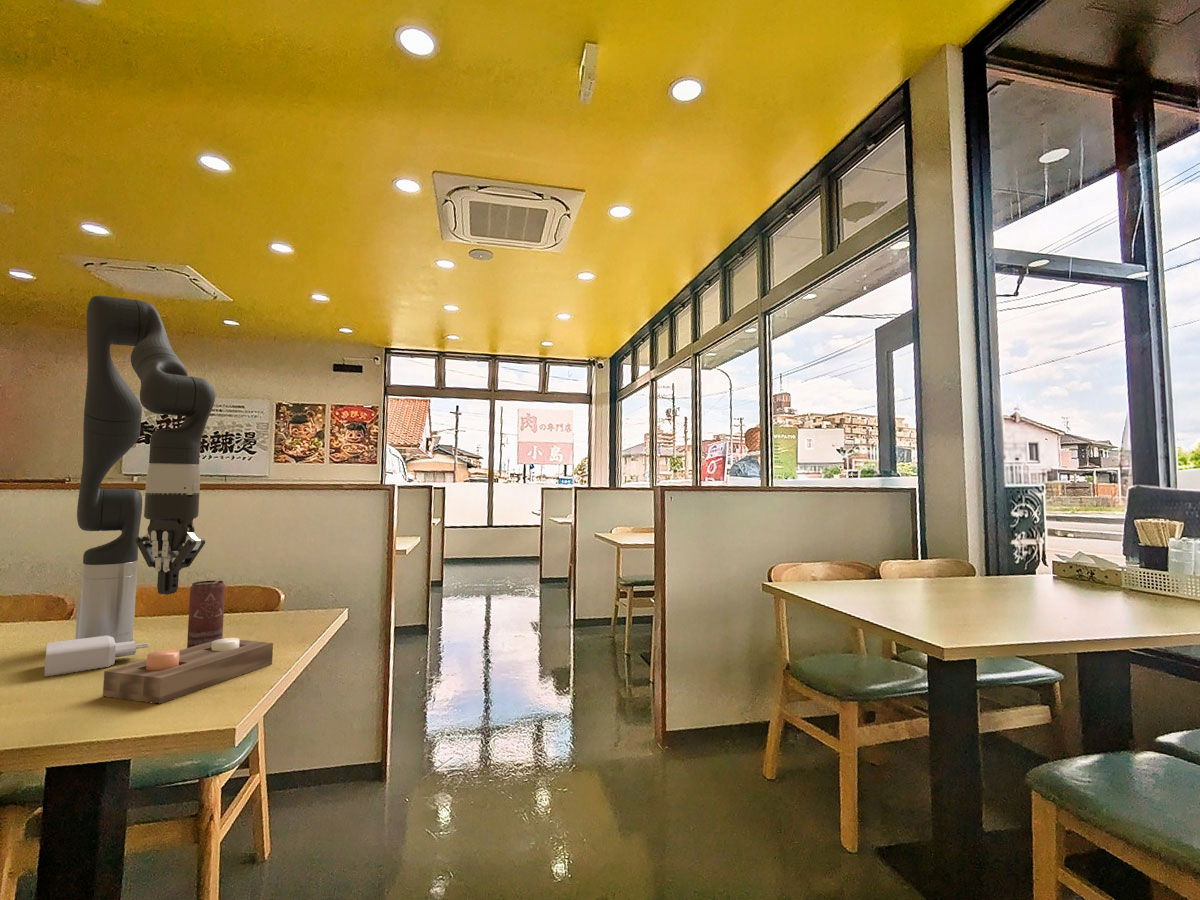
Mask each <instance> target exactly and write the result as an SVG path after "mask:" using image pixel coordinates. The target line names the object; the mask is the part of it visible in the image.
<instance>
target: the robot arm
mask: <svg viewBox="0 0 1200 900" xmlns="http://www.w3.org/2000/svg"><path fill="white" fill-rule="evenodd" d="M86 308H87V309H86V316H85V317H86V320H85V321H86V353H87V355H86V356H87V360H86V361H87V375H86V376H87V377H86V389H85V390H86V391H85V398H84V410H83V427H82V428H83V433H82V435H83V436H82V437H83V439H82V440H83V441H82V442H83V444H82V445H83V446H82V447H83V448H82V450H83V451H82V452H83V453H82V455H83V457H82V466H81V467H82V468H81V477H80V484H79V490H78V491H79V492H78V498H77V499H78V500H77V507H76V521H77V524H78V527H79V529H81V530H82V531H85V532H111V531H112V532H114V531H120V532H121V534H119V536H118V537H117V538H115V539H113V540H112V541H108V542H107V543H104V544H101V545H98V546H95V547H90V548H88V549H87V550H85V551H84V552H83V555H82V571H81V572H82V573H81V588H80V589H81V592H80V598H78V600H77V606H76V607H77V609H76V621H75V622H76V624H75V625H76V626H75V639H83V638H91V637H99V636H111V637H114V640H115V643H121V642H128V641H133V639H134V629H135V627H134V626H135V613H136V611H135V609H136V599H137V597H136V595H137V581H138V580H137V579H138V559H139V558H138V557H139V551H140V553H141V555H142V557H143V559H144V561H145V563H146V565H147V566H148V567H149V568H153V569H155V571H156V572H157V583H156V584H157V586H156V587H157V593H158V594H159V595H171V594H176V592H177V591H178V589H179V588H178V587H179V576H180V571H181V570H182V569H184V568H189V567H190V566H191V564H192V563H193V562H194V560H195V559H196V558H197V556H198V554H199V553H200V552H201V550H202V549H203V547H204V546H205V544H206V540H205V539H204V538H199V537H197V536H196V534H195V530H196V529H195V526H194V519H196V518H198V516H199V511H200V510H199V508H200V488H201V473H200V457H201V455H200V454H201V442H202V439H203V435H204V431H205V429H206V426H207V423H208V420H209V418H210V415H211V412H212V410H213V408H214V405H215V401H216V392H215V389H214V386H213V385H212V383H210V382H209V381H208V380H207V379H205V378H203V377H202V378H201V377H195V376H188V370H187V368H186V366H185V365H184V364H183V362H182V361H181V360H180V358H179V357H178V356H177V354H176V353H175V352H174V349H173V348H172V346H171V343H170V340H169V337H168V334H167V331H166V327H165V325H164V322H163V320H162V318H161V315H160V313H159V311H158V310H157V308H156V307H155V306H154V305H153V304H152V303H150V302H147V301H143V300H137V299H131V298H125V297H124V298H123V297H115V296H107V295H94V296H92V297H91V298H90V299H89V301H88V303H87V307H86ZM111 345H114V346H115V345H116V346H127V347H129V346H130V347H134V348H133V349H132V351H131V354H130V363H131V364H130V365H131V367H132V368H133V371H134V373H135V374H136V376H137V377H138V379H139V381H140V388H139V389H140V390H139V399H138V397H137V396H136V394H135V392H134V390H132V388H130V385H128V384H127V382H126V381H125V380H124V378H123V377H122V376H121V373H119V371H118V369H117V367H116V366H115V364H114V362H113V359H112V356H111ZM142 407H143V408H144V409H145V410H147V411H148V412H151V413H153V414H156V415H157V414H158V415H166V416H176V417H177V416H178V417H185V418H184V421H183V423H182V424H181V425H180V426H178V427H173V428H161V429H157V430H155V431H153V432H152V433H151V435H150V439H149V441H150V442H149V455H148V456H149V458H148V469H147V473H146V476H145V478H146V479H145V491H144V508H143V496H142V492H141V491H140V490H139V489H137V488H101V487H100V486H101V484H102V482H103V480H104V479H105V477H106V475H107V474H108V472H110V470H111V469H112V468H113V467H114V465H115V464H116V463H117V462H118V461H120V459H122V458H123V456H125V455H126V454H127V453H128V452H129V451H130V450H131V449H132V448H133V446H134V445H135V444H136V443H137V441H139V440H138V439H139V438H140V435H141V427H142V426H141V425H142V416H143V413H142V412H143V409H142ZM143 510H144V511H143ZM142 511H143V512H142ZM142 513H143V517H144V518H145V519H146V520H149V524H148V526H147V530H146V531H147V532H146V533H145V534H144V535H143V536H140V528H141V519H142ZM75 639H74V640H75Z"/></svg>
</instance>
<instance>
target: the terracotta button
mask: <svg viewBox="0 0 1200 900" xmlns="http://www.w3.org/2000/svg"><path fill="white" fill-rule="evenodd" d="M179 653H180V651H179V649H161V650H158V651H157V650H156V651H153V652H150V653H148V654H147V655H146V659H147V665H146V670H152V671H162V670H166V669H169V668H172V667H176V666H179Z"/></svg>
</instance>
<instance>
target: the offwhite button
mask: <svg viewBox="0 0 1200 900" xmlns="http://www.w3.org/2000/svg"><path fill="white" fill-rule="evenodd" d="M223 638H224V637H223ZM240 640H241V639H240V638H238V637H225V638H224V639H218V640H215V641H213V642H212V649H211V650H212V651H222V652H225V651H229V650H232V649H235V648H239V642H240Z"/></svg>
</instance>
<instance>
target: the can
mask: <svg viewBox="0 0 1200 900" xmlns="http://www.w3.org/2000/svg"><path fill="white" fill-rule="evenodd" d="M225 592H226V585H225V582H224V581H223V580H220V579H217V580H203V581H196V582H195V581H194V582H192V584H191V586H190V588H189V603H188V624H187V641H186V648H190V647H194V646H197V645H201V644H204V643H208V642H212V641H215V640H218V639H222V638H224V637H223V634H224V632H223V631H224V615H225V611H224V610H225V597H226V596H225V594H226V593H225Z"/></svg>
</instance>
